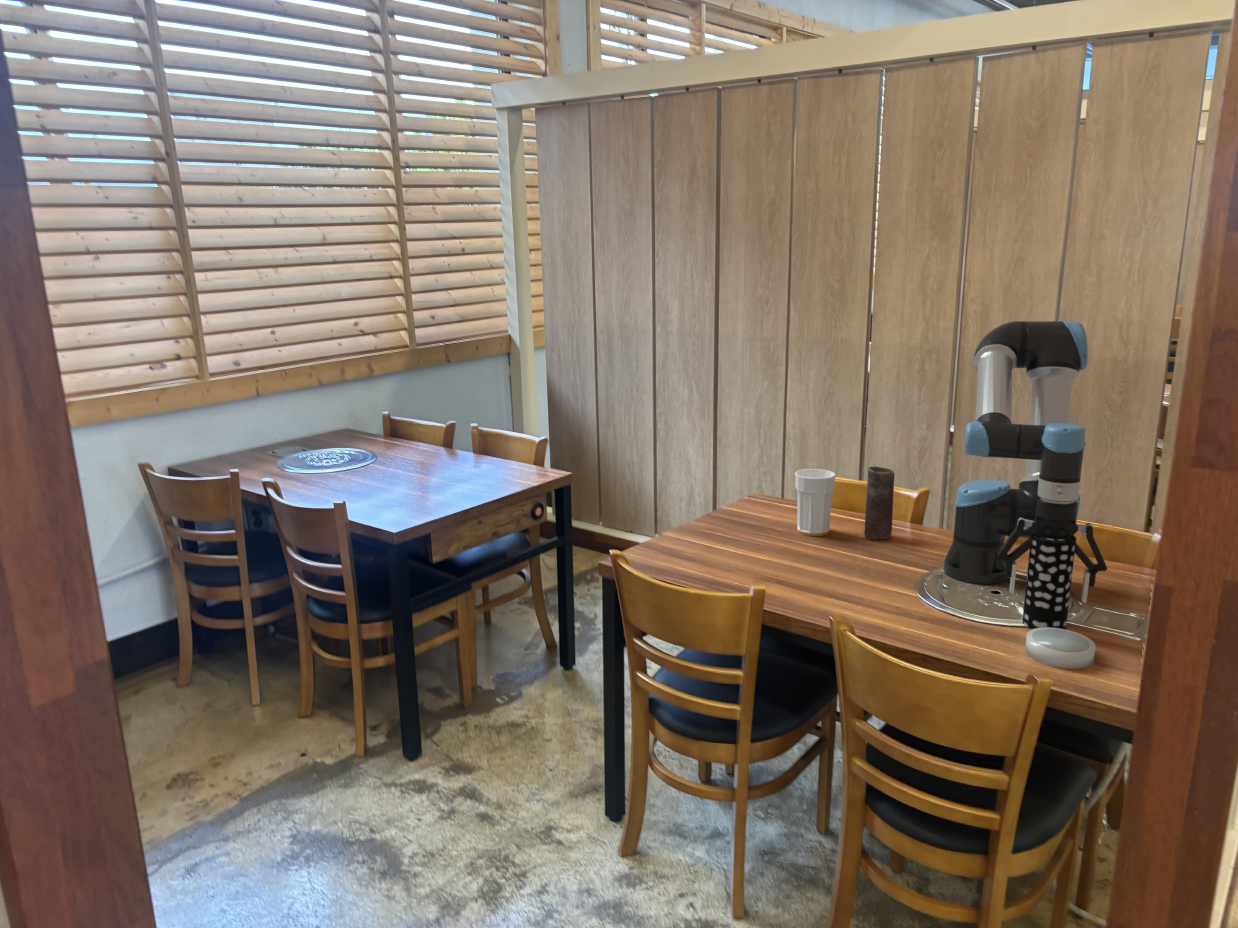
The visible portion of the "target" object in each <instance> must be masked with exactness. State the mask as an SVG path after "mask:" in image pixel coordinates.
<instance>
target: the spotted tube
mask: <svg viewBox="0 0 1238 928" xmlns="http://www.w3.org/2000/svg"><path fill="white" fill-rule="evenodd" d="M1036 535H1037V533H1035V531H1033V532H1032V533H1031V539H1034V540H1033V541H1032V547H1031V548H1030V549H1029V550H1028V551H1029V553H1028V562H1027V572H1026V582H1025V583H1026V585H1025V592H1024V594H1025V595H1024V601H1023V604H1024V605H1023V610H1022V611H1023V612H1022V613H1023V614H1022V624H1023V625H1024V626H1025V627H1027V628H1028V629H1030V630H1032V629H1036V628H1045V627H1049V628H1060V629H1065V630H1067V622H1068V615H1069V606H1070V597H1071V589H1072V588H1071V587H1072V579H1073V570H1074V564H1075V563H1074V560H1075V554H1076V553H1075V552H1074V549H1075V545H1074V543H1076V542H1077V537H1076V536H1075V534H1074V535H1073V536H1072V537H1071V539H1072V540H1064V539H1063V538H1053V537H1036Z"/></svg>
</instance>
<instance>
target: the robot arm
mask: <svg viewBox="0 0 1238 928" xmlns="http://www.w3.org/2000/svg"><path fill="white" fill-rule="evenodd" d="M1088 346H1089V345H1088V337H1087V332H1086V329H1085V327H1084V325H1083V324H1081V323H1080V322H1078V321H1077V322H1076V321H1065V320H1060V321H1059V320H1058V321H1056V320H1055V321H1049V320H1046V321H1042V320H1041V321H1040V320H1039V321H1036V320H1034V321H1032V320H1031V321H1025V320H1024V321H1021V320H1016V321H1015V320H1013V321H1009V322H1005V323H1003V324H1001V325H999V326H997V327H994V328H993V329H992V330H991V331H989V332H988V333H987V334H985V335H984V337H983V338H982V339H981V340H980V341H979V343H978V345H977V346H976V348H975V352H974V356H973V365H974V368H975V370H976V371H977V380H976V381H977V384H976V401H975V402H976V403H975V418H974V419H975V420H974V421H972V422H971V421H970V422H968V423H967V424H966V425H965V434H964V435H965V436H964V437H965V438H964V448H963V450H964V452H965V454H966V455H968V456H976V457H981V458H995V459H996V458H999V459H1000V458H1001V459H1018V460H1027V461H1026V463H1027V466H1026V475H1025V477H1023V478H1022V479H1021V480H1020V481H1019V482H1018V488H1011V485H1010V483H1009V482H1007V481H1005V480H998V479H978V480H972V481H968V482H964V483H962V484H961V485H960V486H959V487H958V489H957V491H956V500H955V502H954V506H955V514H954V526H953V537H952V542H951V545H950V546H949V549H948V551H947V553H946V556H945V558H944V561H943V572H944V573H945V574H946V575H947V576H949V577H951V578H953V579H956V580H959V581H962V582H967V583H972V584H973V583H974V584H980V585H981V584H982V585H983V584H984V585H986V584H988V585H991V584H993V585H994V584H1000V583H1004V582H1006V581H1008V580H1009V579H1010V581H1009V582H1010V583H1009V593H1010V594H1013V595H1014V593H1015V585H1016V575H1017V574H1016V573H1017V560H1018V559H1019V558H1020V557H1022V556H1023V555H1024V554H1025V553H1026V552H1028V551H1030V548H1031V547H1032V541H1033V540H1034V539H1031V533H1032V532H1033V531H1035V533H1037V535H1036V537H1053V538H1063V539H1064V540H1072V539H1071V537H1072V536H1073V535H1074V536H1075V535H1076V533H1077V532H1080V533H1081V535H1082V536H1083V537H1084V536H1085V537H1086V540H1087V543H1088V544H1089V545H1088V546H1089V547H1090V549H1091V551H1092V554H1093V556H1094V558H1095V560H1096V563H1094V562H1093V561H1092V559H1090V557H1089V555H1088V554H1087V553H1086V552H1085V551H1084V550H1083V548H1081V546H1080V545H1079V544H1078V542H1077V541H1076V543H1074V545H1075V549H1074V552H1075V554H1076V556H1077V557H1078V559H1080V560H1081V562H1082V563H1083V564H1084V565H1085V567H1086V568H1084V571H1083V580H1082V585H1081V586H1082V587H1081V596H1080V597H1081V598H1080V599H1081V602H1082V604H1087V601H1088V595H1089V593H1088V592H1089V587H1090V588H1094V587H1095V584H1096V576H1097V574H1098V572H1106V571H1107V570H1108V567H1107V566H1108V565H1107V564H1106V562H1105V559H1104V557H1103V555H1102V553H1101V551H1100V548H1099V547H1098V544H1097V542H1096V539H1095V537H1094V528H1093V525H1092V523H1090V522H1087V523H1085V524H1077V519H1078V515H1079V512H1080V508H1081V507H1080V505H1081V495H1080V487H1081V475H1082V467H1083V459H1084V451H1085V447H1086V429H1085V428H1084V426H1082V425H1078V424H1075V423H1070V419H1071V405H1072V404H1071V401H1072V385H1073V384H1072V383H1073V382H1074V381H1075V380H1076V379H1078V378H1079V377H1080V371H1083V370H1085V369H1086V368H1087V365H1088V352H1089V349H1088V348H1089V347H1088ZM1014 369H1026V371H1025V376H1026V378H1028V379H1029V380H1030V381H1031V396H1030V397H1031V400H1030V413H1029V414H1030V415H1029V424H1025V423H1024V424H1021V423H1012V421H1013V420H1012V418H1013V417H1012V416H1013V414H1012V413H1013V409H1012V407H1013V405H1012V402H1013V371H1014ZM1006 537H1008V538H1007V540H1005V538H1006ZM1019 538H1023V539H1026V540H1025V541H1023V542H1022V543H1021V544H1019V546H1017V547H1016V548H1015V549H1014V550H1012V551H1011V549H1012V548H1013V546H1014V545H1015V544H1016V542H1017V541H1018V540H1019ZM1010 551H1011V552H1010ZM1009 552H1010V553H1009ZM1008 553H1009V554H1008Z"/></svg>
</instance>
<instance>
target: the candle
mask: <svg viewBox="0 0 1238 928" xmlns="http://www.w3.org/2000/svg"><path fill="white" fill-rule="evenodd" d="M894 488H895V472H894V471H893V469H892V468H885V467H879V466H869V467H868V469H867V482H866V499H865V500H866V501H865V514H864V533H863V534H864V538H866V539H867V540H868V539H869V540H872V541H873V540H886V539H889V538H890V536H891V535H892V532H893V513H894V511H893V509H894V508H893V507H894V490H895V489H894Z"/></svg>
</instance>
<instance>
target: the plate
mask: <svg viewBox="0 0 1238 928" xmlns="http://www.w3.org/2000/svg"><path fill="white" fill-rule="evenodd" d="M1024 651H1025V653H1026V654H1027V655H1028V656H1029V657H1030V658H1031V659H1033V660H1034V661H1036V662H1039V663H1041V664H1044V665H1046V666H1050V667H1055V668H1059V669H1067V670H1068V669H1069V670H1079V669H1085V668H1086V669H1087V668H1089V667H1091V666H1093V664H1094V662H1095V661H1094V660H1095V656H1096V644H1095V643H1094V641H1093V640H1092V639H1090V637H1087V636H1086V635H1084V634H1081V633H1078V632H1076V631H1073V630H1070V629H1069V630H1068V629H1066V630H1065V629H1060V628H1049V627H1045V628H1036V629H1030V630H1029V631H1027V633H1026V638H1025V649H1024Z"/></svg>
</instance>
